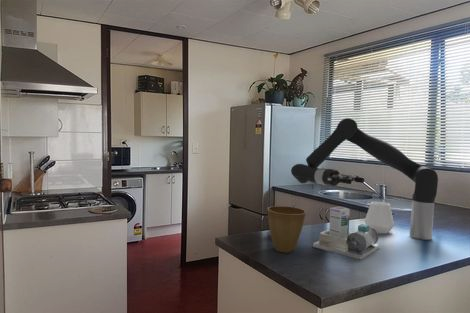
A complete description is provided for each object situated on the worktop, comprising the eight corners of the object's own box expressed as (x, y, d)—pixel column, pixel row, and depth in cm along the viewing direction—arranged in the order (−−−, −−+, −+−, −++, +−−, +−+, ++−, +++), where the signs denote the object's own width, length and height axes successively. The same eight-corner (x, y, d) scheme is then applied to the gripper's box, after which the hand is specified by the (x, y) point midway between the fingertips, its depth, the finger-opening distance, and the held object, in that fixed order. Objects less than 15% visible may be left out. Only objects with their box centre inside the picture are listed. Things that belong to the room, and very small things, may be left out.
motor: (334, 237, 157) (335, 214, 157) (380, 248, 144) (381, 223, 144) (312, 246, 142) (314, 221, 142) (361, 259, 129) (363, 231, 128)
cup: (362, 231, 170) (364, 203, 169) (366, 226, 182) (367, 199, 181) (392, 236, 164) (394, 207, 163) (394, 230, 176) (396, 203, 175)
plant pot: (274, 257, 128) (276, 214, 127) (260, 244, 142) (262, 206, 141) (310, 255, 132) (313, 213, 131) (293, 243, 146) (295, 205, 145)
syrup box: (339, 244, 141) (341, 209, 141) (328, 240, 146) (330, 206, 146) (348, 242, 145) (350, 208, 144) (336, 239, 150) (339, 205, 149)
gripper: (316, 169, 155) (347, 172, 141) (337, 168, 163) (368, 171, 150) (316, 186, 155) (346, 190, 142) (336, 184, 163) (367, 188, 150)
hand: (357, 180), depth 146 cm, fingers open, 8 cm apart
